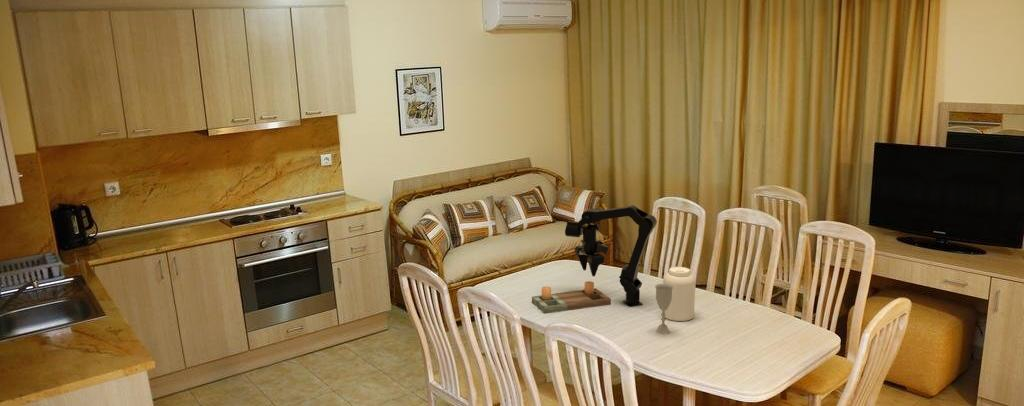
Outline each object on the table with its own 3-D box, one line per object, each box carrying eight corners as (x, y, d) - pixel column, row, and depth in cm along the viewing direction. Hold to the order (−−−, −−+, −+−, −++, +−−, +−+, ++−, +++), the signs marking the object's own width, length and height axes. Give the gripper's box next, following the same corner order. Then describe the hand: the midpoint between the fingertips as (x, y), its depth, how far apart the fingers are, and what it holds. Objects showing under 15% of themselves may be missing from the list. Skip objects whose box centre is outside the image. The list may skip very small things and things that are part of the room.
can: (694, 322, 296) (696, 274, 292) (662, 320, 298) (663, 272, 294) (693, 311, 308) (695, 265, 304) (662, 310, 310) (663, 263, 306)
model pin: (552, 304, 319) (552, 288, 317) (543, 305, 317) (543, 290, 316) (549, 301, 322) (549, 286, 321) (540, 302, 321) (540, 287, 320)
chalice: (659, 326, 292) (660, 282, 288) (675, 330, 288) (676, 285, 284) (650, 332, 287) (651, 287, 283) (666, 336, 282) (667, 290, 279)
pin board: (610, 304, 318) (610, 298, 317) (544, 313, 308) (544, 307, 308) (595, 293, 332) (595, 288, 331) (532, 302, 322) (532, 296, 322)
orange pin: (595, 298, 325) (595, 283, 323) (586, 300, 324) (587, 284, 322) (591, 296, 329) (591, 280, 327) (583, 297, 327) (583, 281, 326)
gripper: (616, 241, 314) (615, 277, 318) (597, 231, 332) (596, 265, 335) (592, 244, 311) (591, 280, 314) (574, 234, 328) (573, 268, 331)
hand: (589, 273), depth 324 cm, fingers open, 9 cm apart
